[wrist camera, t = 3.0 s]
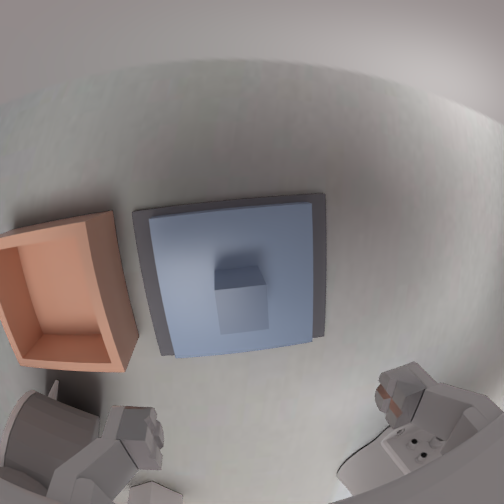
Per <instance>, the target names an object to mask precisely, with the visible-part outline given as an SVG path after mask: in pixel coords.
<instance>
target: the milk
mask: <svg viewBox="0 0 504 504" xmlns="http://www.w3.org/2000/svg"><path fill="white" fill-rule="evenodd" d="M128 504H183V495H182V494H179V493H177V492H175V491H172V490H170V489H168V488H166V487H163V486H161V485H159V484H157V483H155V482H153V481H151V482H148V483H145V484H141V485H138V486H135V487H131V488H130V491H129V497H128Z"/></svg>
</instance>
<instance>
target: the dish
mask: <svg viewBox="0 0 504 504" xmlns="http://www.w3.org/2000/svg"><path fill="white" fill-rule="evenodd" d="M0 320H1V322H2V325H3V327H4V330H5V332H6V335H7V337H8V340H9V342H10V344H11V347H12V349H13V351H14V353H15V355H16V358H17V360H18V362H19V364H20V366H27V367H35V368H45V369H56V370H70V371H89V372H125V371H126V369H127V366H128V363H129V361H130V358H131V356H132V353H133V351H134V348H135V345H136V343H137V340H138V338H139V334H138V330H137V327H136V323H135V319H134V316H133V312H132V308H131V304H130V300H129V295H128V291H127V287H126V282H125V278H124V273H123V268H122V263H121V258H120V253H119V247H118V241H117V235H116V229H115V223H114V216H113V210H112V211H105V212H99V213H93V214H88V215H82V216H76V217H71V218H65V219H60V220H55V221H50V222H45V223H40V224H35V225H31V226H26V227H21V228H17V229H13V230H10V231H8V232H5V233H2V234H0Z"/></svg>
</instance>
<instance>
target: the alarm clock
mask: <svg viewBox="0 0 504 504" xmlns="http://www.w3.org/2000/svg"><path fill="white" fill-rule="evenodd" d="M58 385H59V381H58V380H55V382H54V384H53V386H52V388H51V390H50V392H49V394H48V396H45V395H43V394H41V393H39V392H37V391H34V390H31V391H28V392H26V393H25V394H24V395H23V396H22V397H21V398H20V399H19V400H18V402H17V403H16V405H15V407H14V409H13V410H12V412H11V414H10V416H9V418H8V421H7V424H6V426H5V429H4V432H3V435H2V439H1V444H0V478H2V479H4V480H6V481H8V482H10V483H12V484H14V485H17V486H19V487H21V488H24V489H26V490H29V491H31V492H34V493H36V494H39V495H42V496H45V497H46V495H47V492H48V488H49V485H50V482H51V480H52V477H53V474H54V471H55V469H57V468H58V467H60V466H61V465H62V464H64V463H65V462H66V461H68V460H69V459H70V458H72V457H73V456H74V455H76V454H77V453H78V452H80V451H81V450H82V449H83V448H85V447H86V446H87V445H89V444H90V443H91V442H93V441H94V440H95V439H96V438H98V435H99V425H100V419H99V417H98V416H95V415H93V414H90V413H87V412H84V411H82V410H79V409H76V408H74V407H71V406H69V405H66V404H64V403H61V402H59V401H57V395H58Z"/></svg>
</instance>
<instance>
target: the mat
mask: <svg viewBox="0 0 504 504" xmlns="http://www.w3.org/2000/svg"><path fill="white" fill-rule="evenodd" d="M296 202H309V203H312V226H313V331H312V338H317V337H322V336H324V330H325V307H326V199H325V194H323V193H320V194H301V195H285V196H271V197H258V198H246V199H235V200H224V201H214V202H204V203H195V204H186V205H178V206H170V207H162V208H154V209H146V210H139V211H133V212H132V217H133V225H134V231H135V238H136V244H137V250H138V256H139V261H140V267H141V272H142V277H143V282H144V287H145V292H146V296H147V301H148V305H149V310H150V314H151V318H152V322H153V326H154V330H155V334H156V338H157V342H158V345H159V349H160V353H161V356H165V355H175V353H174V349H173V345H172V341H171V337H170V333H169V329H168V324H167V320H166V315H165V311H164V306H163V301H162V296H161V291H160V286H159V281H158V275H157V270H156V264H155V258H154V252H153V246H152V239H151V232H150V225H149V219H150V218H151V217H153V216H161V215H169V214H178V213H186V212H195V211H204V210H214V209H224V208H234V207H245V206H257V205H269V204H282V203H296Z"/></svg>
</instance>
